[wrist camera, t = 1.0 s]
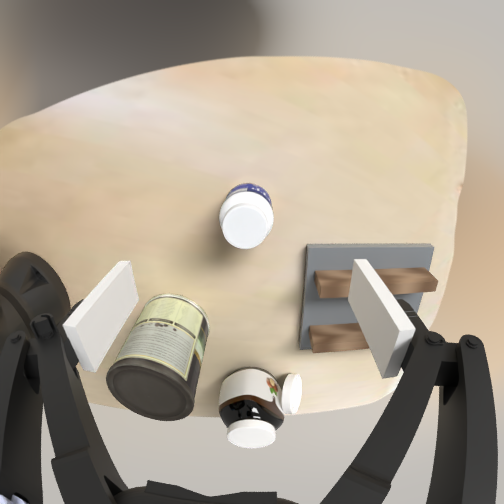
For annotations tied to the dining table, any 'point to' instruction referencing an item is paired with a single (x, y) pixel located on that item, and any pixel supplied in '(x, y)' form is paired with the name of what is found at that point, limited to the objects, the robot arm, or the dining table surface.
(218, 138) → the dining table surface
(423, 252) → the plate
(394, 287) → the wooden rail pair
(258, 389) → the spread jar
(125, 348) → the coffee can
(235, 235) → the pill bottle
